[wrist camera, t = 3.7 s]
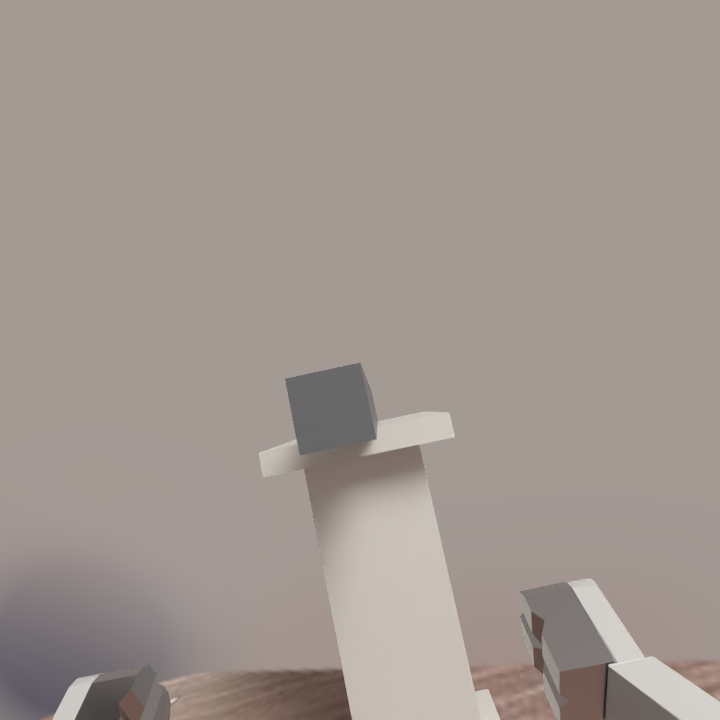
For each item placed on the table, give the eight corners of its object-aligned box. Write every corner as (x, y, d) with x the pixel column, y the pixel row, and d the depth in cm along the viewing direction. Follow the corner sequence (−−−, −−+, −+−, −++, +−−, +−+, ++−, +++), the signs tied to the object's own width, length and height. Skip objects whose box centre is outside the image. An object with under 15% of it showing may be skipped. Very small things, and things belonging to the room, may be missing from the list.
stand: (343, 930, 23) (258, 453, 26) (356, 734, 37) (300, 437, 40) (561, 888, 23) (449, 412, 26) (492, 707, 37) (424, 411, 40)
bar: (299, 455, 16) (284, 378, 17) (346, 428, 40) (340, 396, 40) (376, 439, 16) (360, 362, 17) (377, 421, 40) (371, 390, 40)
